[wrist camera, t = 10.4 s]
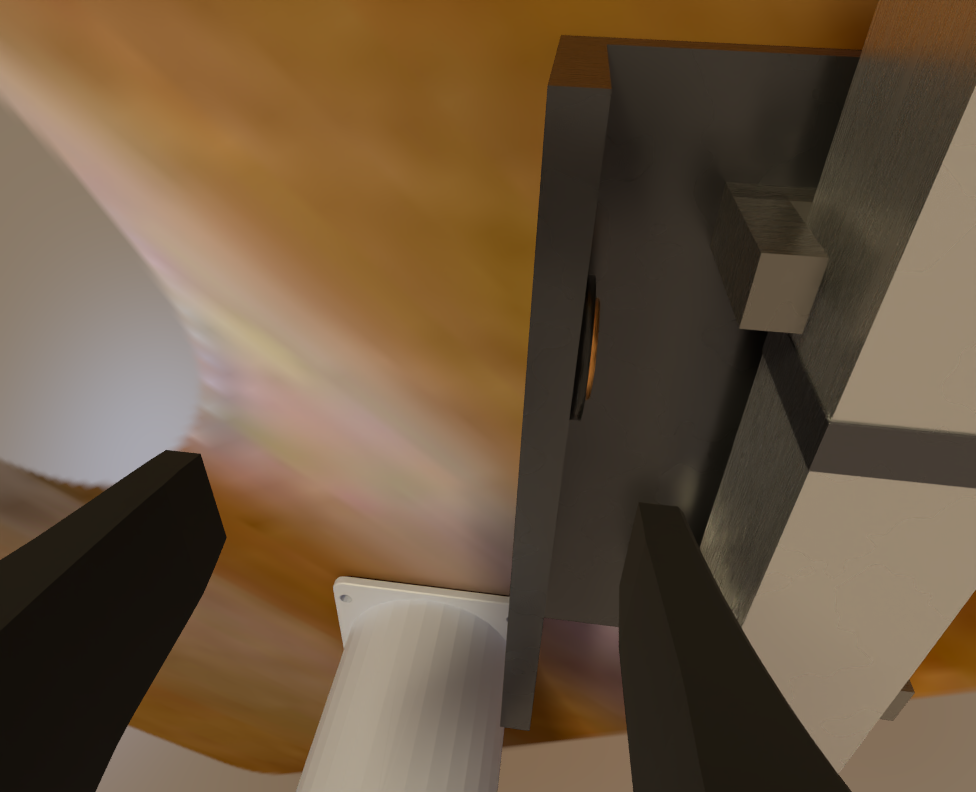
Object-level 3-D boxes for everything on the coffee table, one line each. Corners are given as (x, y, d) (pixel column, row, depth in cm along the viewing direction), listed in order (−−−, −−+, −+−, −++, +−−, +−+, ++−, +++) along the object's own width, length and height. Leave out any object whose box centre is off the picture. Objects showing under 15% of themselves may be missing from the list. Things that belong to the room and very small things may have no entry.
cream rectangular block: (800, 647, 23) (837, 780, 20) (670, 630, 24) (684, 758, 20) (1158, -22, 11) (1421, 6, 8) (886, -33, 12) (1015, -10, 8)
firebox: (902, 640, 25) (967, 793, 21) (515, 592, 27) (500, 726, 22) (1293, 71, 13) (1636, 146, 9) (560, 34, 15) (547, 85, 10)
